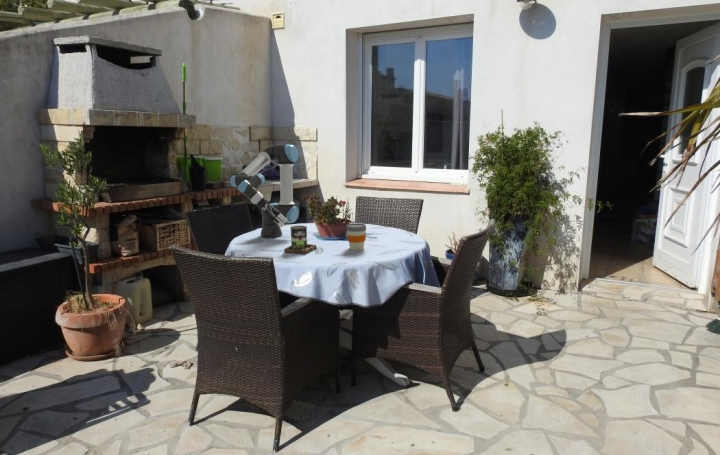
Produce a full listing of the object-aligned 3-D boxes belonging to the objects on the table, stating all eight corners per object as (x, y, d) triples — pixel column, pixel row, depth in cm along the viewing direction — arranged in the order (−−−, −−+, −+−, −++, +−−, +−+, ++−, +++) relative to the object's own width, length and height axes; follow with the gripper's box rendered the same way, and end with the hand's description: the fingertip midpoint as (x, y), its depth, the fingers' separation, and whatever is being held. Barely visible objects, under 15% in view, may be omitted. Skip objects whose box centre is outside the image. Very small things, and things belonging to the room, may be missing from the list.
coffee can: (308, 249, 332) (307, 228, 329) (292, 251, 329) (291, 229, 326) (306, 246, 341) (305, 224, 338) (290, 247, 339) (289, 226, 336)
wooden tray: (295, 246, 343) (295, 243, 343) (316, 248, 338) (316, 244, 337) (284, 252, 330) (284, 248, 329) (305, 254, 324) (305, 250, 324)
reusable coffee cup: (349, 251, 330) (349, 228, 326) (344, 246, 341) (344, 224, 338) (368, 249, 333) (368, 226, 330) (363, 245, 345) (363, 222, 342)
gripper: (259, 201, 340) (283, 223, 343) (251, 208, 316) (277, 232, 319) (267, 193, 339) (291, 215, 342) (259, 199, 314) (285, 223, 317)
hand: (284, 223), depth 330 cm, fingers open, 13 cm apart
